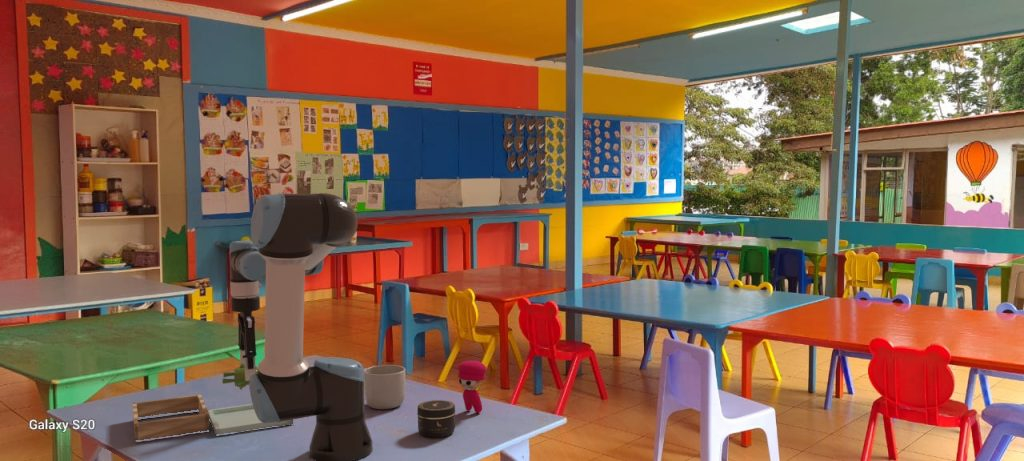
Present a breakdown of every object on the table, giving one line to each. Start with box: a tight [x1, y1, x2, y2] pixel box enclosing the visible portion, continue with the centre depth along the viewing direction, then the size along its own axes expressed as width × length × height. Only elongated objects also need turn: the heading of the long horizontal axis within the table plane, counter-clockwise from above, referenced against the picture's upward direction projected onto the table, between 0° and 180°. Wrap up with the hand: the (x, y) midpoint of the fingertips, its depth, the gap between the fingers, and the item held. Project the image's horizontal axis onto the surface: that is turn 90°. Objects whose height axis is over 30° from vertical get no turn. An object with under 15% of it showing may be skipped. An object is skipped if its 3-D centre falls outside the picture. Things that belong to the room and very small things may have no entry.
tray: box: [207, 403, 294, 435], centre depth 213 cm, size 20×20×2 cm
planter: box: [363, 364, 407, 410], centre depth 226 cm, size 12×12×11 cm
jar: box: [416, 399, 456, 439], centre depth 200 cm, size 10×10×8 cm
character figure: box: [222, 364, 258, 391], centre depth 211 cm, size 12×5×12 cm
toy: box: [457, 359, 488, 414], centre depth 218 cm, size 8×8×15 cm
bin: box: [132, 393, 211, 441], centre depth 209 cm, size 22×18×5 cm
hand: (247, 376), depth 213 cm, fingers closed on character figure, 8 cm apart
